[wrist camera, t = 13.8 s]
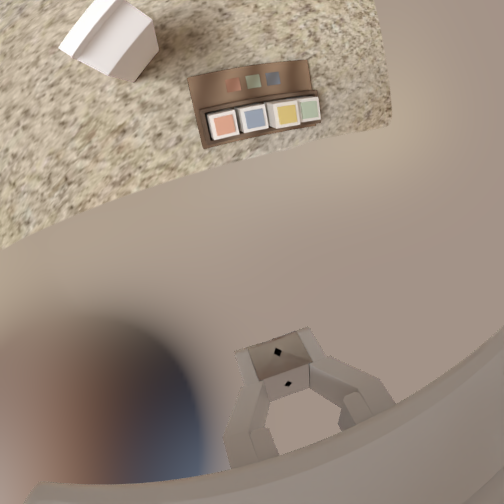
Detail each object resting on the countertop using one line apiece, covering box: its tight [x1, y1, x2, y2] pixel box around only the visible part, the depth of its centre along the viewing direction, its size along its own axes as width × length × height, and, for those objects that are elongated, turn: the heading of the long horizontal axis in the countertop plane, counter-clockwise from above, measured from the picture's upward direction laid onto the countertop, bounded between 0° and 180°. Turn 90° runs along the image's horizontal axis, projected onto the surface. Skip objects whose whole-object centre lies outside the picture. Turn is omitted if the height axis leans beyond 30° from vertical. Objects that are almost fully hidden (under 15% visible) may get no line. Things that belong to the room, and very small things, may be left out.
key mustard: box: [264, 99, 300, 129], centre depth 36 cm, size 3×3×4 cm
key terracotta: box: [206, 108, 239, 140], centre depth 37 cm, size 3×3×4 cm
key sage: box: [286, 96, 321, 123], centre depth 38 cm, size 3×3×4 cm
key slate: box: [234, 103, 269, 133], centre depth 37 cm, size 3×3×4 cm
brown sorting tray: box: [187, 60, 321, 149], centre depth 38 cm, size 18×11×4 cm, turn 100°
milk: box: [59, 0, 159, 82], centre depth 22 cm, size 6×6×22 cm
